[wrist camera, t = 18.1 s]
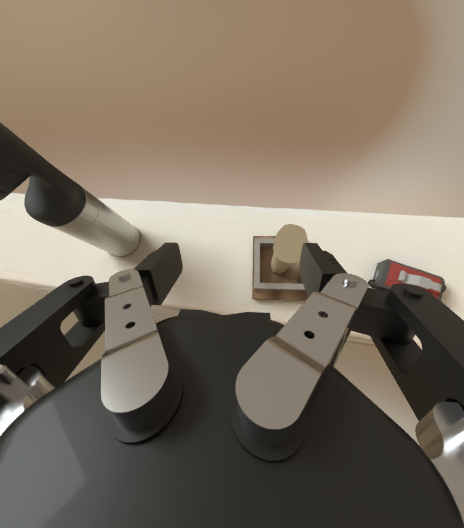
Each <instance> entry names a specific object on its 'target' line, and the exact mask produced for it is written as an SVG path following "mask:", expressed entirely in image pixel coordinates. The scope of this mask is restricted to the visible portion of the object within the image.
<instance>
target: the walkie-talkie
mask: <svg viewBox="0 0 464 528" xmlns="http://www.w3.org/2000/svg"><path fill="white" fill-rule="evenodd" d="M371 282H372V284H371ZM398 283H402V284H409V285H413V286H417V287H420V288H422V289H424V290H426V291H428V292H429V293H431V294H432V295H433V296H435V297H436V298H437V299H438V300H439V301H441V302H442V300H441V298H442V293H443V292H444V291H445V289H446V286H445V285H444V283H445V282H444V279H443V278H442V277H439V276H436V275H433V274H431V273H428V272H425V271H422V270H419V269H416V268H412V267H409V266H406V265H403V264H400V263H398V262H395V261H392V260H389V259H387V260H384V261H382V262H380V263H378V264H377V267H376V271H375V274H374V278H373V280H369V282H368V284H369V286H371V287H373V288H375V289H378V290H381V291H386V292H389V290H390V288H391V286H392V285H394V284H398Z"/></svg>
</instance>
